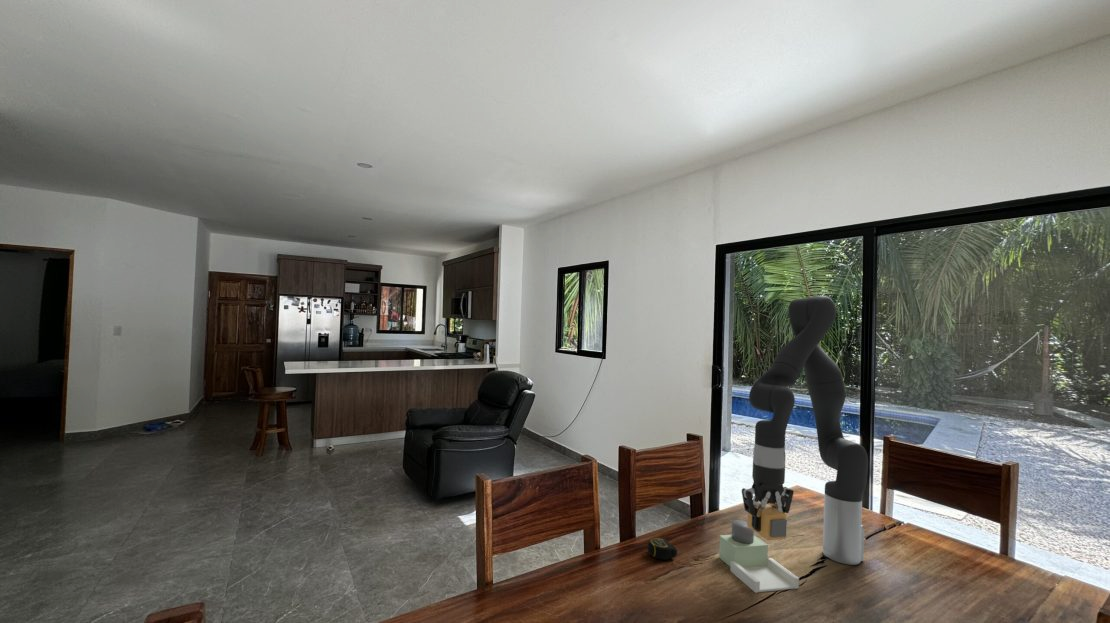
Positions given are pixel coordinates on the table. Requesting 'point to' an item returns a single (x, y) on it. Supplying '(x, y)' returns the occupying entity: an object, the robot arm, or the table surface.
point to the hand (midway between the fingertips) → (766, 529)
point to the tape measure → (661, 548)
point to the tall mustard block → (771, 523)
